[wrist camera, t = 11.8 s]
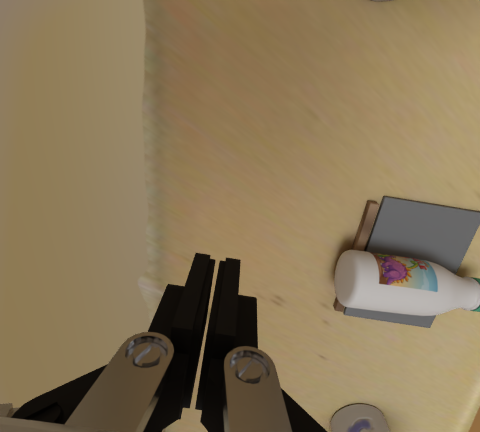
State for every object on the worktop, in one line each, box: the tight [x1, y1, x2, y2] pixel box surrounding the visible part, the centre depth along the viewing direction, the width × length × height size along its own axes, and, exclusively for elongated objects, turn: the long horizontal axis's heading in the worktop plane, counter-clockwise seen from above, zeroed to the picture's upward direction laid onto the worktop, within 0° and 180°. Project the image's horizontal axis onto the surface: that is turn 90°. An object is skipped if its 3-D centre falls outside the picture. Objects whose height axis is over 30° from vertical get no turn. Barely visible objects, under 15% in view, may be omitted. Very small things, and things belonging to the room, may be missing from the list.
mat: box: [343, 196, 480, 328], centre depth 49 cm, size 20×14×1 cm
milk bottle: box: [334, 250, 480, 316], centre depth 45 cm, size 8×8×20 cm
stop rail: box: [333, 200, 379, 312], centre depth 48 cm, size 18×1×1 cm, turn 171°
